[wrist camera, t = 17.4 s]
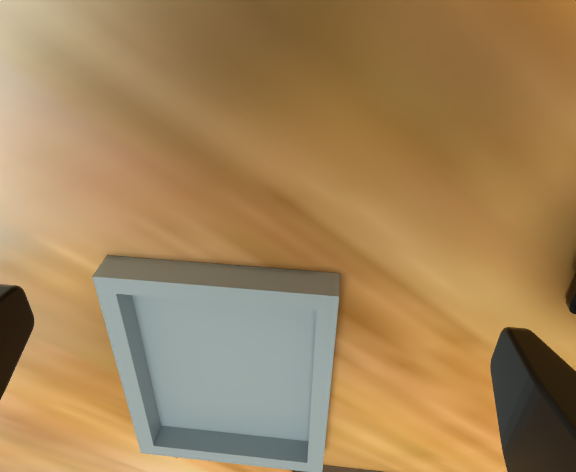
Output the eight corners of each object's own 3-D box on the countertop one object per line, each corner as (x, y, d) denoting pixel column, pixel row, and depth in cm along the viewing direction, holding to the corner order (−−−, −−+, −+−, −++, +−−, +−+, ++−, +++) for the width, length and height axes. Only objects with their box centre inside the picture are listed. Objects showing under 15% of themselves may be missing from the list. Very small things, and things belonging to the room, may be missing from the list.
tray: (340, 266, 24) (339, 296, 22) (323, 440, 33) (322, 473, 31) (111, 249, 25) (92, 276, 23) (152, 422, 34) (141, 453, 32)
